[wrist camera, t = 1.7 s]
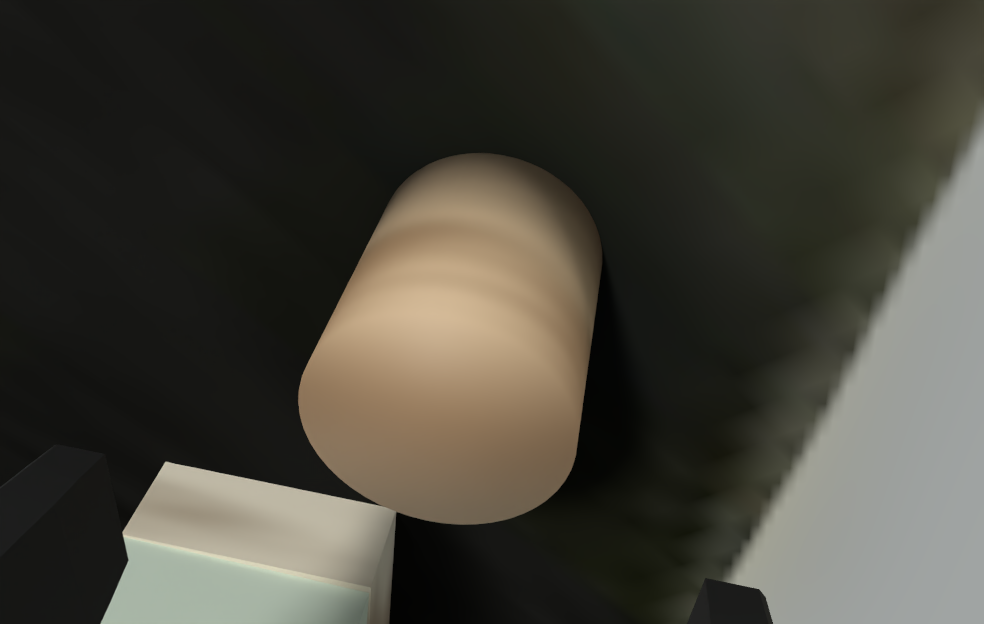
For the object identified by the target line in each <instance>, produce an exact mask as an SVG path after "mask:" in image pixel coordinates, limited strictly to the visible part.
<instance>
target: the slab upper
mask: <svg viewBox="0 0 984 624" xmlns="http://www.w3.org/2000/svg"><path fill="white" fill-rule="evenodd" d="M124 542H125V546H126V550H127V555H128V559H129V561H128V563H127V565H126V567H125V570H124V572H123V574H122V577H121V579H120V581H119V584H118V586H117V588H116V591H115V593H114V595H113V598H112V600H111V602H110V604H109V607H108V609H107V611H106V613H105V615H104V617H103V619H102V622H101V624H367V614H368V601H369V593H367V592H363V591H359V590H354V589H350V588H345V587H341V586H337V585H332V584H328V583H324V582H319V581H315V580H311V579H306V578H302V577H298V576H293V575H289V574H285V573H280V572H276V571H272V570H267V569H263V568H259V567H254V566H250V565H245V564H241V563H237V562H232V561H228V560H223V559H219V558H215V557H210V556H206V555H201V554H197V553H193V552H188V551H184V550H180V549H175V548H171V547H166V546H162V545H158V544H153V543H149V542H144V541H140V540H136V539H131V538H127V537H124Z"/></svg>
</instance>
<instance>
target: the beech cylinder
mask: <svg viewBox="0 0 984 624" xmlns="http://www.w3.org/2000/svg"><path fill="white" fill-rule="evenodd" d="M601 269H602V246H601V241H600V236H599V233H598V230H597V227H596V225H595V223H594V221H593V219H592V217H591V215H590V213H589V211H588V210H587V208H586V207H585V205H584V204H583V203H582V201H581V200H580V199H579V198H578V197H577V195H576V194H575V193H574V192H573V191H572V190H571V189H570V188H569V187H567V186H566V185H565V184H564V183H563V182H562V181H560V180H559V179H558V178H556V177H555V176H553V175H552V174H550V173H549V172H547V171H545V170H543V169H541V168H539V167H537V166H535V165H533V164H531V163H528V162H525V161H523V160H520V159H517V158H513V157H508V156H504V155H498V154H489V153H469V154H461V155H455V156H451V157H447V158H443V159H440V160H438V161H435V162H433V163H430V164H428V165H426V166H425V167H423V168H421V169H419V170H418V171H416V172H415V173H414V174H412V175H411V176H410V177H409V178H407V179H406V180H405V181H404V182H403V183H402V185H401V186H400V187H399V188H398V189H397V190H396V192H395V193H394V195H393V196H392V198H391V199H390V201H389V203H388V205H387V207H386V209H385V211H384V213H383V215H382V217H381V219H380V221H379V223H378V225H377V227H376V229H375V231H374V233H373V235H372V237H371V239H370V241H369V243H368V245H367V247H366V249H365V251H364V253H363V255H362V257H361V259H360V261H359V263H358V265H357V267H356V269H355V271H354V273H353V275H352V277H351V279H350V281H349V283H348V285H347V287H346V289H345V291H344V293H343V295H342V297H341V299H340V301H339V303H338V305H337V307H336V309H335V311H334V313H333V315H332V317H331V319H330V321H329V323H328V325H327V326H326V328H325V330H324V332H323V334H322V336H321V338H320V340H319V342H318V344H317V346H316V348H315V350H314V352H313V354H312V356H311V358H310V360H309V362H308V364H307V366H306V369H305V371H304V373H303V375H302V379H301V383H300V387H299V399H298V403H299V412H300V417H301V421H302V424H303V428H304V430H305V432H306V435H307V437H308V439H309V441H310V443H311V445H312V446H313V448H314V449H315V451H316V453H317V454H318V455H319V457H320V458H321V459H322V460H323V462H324V463H325V464H326V465H327V466H328V467H329V468H330V469H331V470H332V471H333V472H334V473H335V474H336V475H337V476H338V477H339V478H340V479H341V480H342V481H344V482H345V483H346V484H347V485H349V486H350V487H351V488H353V489H354V490H356V491H357V492H359V493H360V494H362V495H363V496H365V497H367V498H368V499H370V500H372V501H374V502H376V503H378V504H380V505H382V506H384V507H386V508H389V509H391V510H393V511H396V512H399V513H402V514H405V515H408V516H411V517H415V518H419V519H423V520H427V521H433V522H439V523H447V524H483V523H492V522H497V521H501V520H506V519H509V518H512V517H515V516H518V515H521V514H523V513H526V512H528V511H530V510H532V509H534V508H536V507H537V506H539V505H540V504H542V503H543V502H545V501H546V500H548V499H549V498H550V497H551V496H552V495H553V494H554V493H555V492H556V491H557V490H558V489H559V488H560V487H561V485H562V484H563V483H564V482H565V480H566V478H567V477H568V475H569V473H570V471H571V469H572V466H573V463H574V460H575V457H576V450H577V443H578V436H579V428H580V421H581V414H582V407H583V400H584V392H585V385H586V378H587V371H588V363H589V356H590V349H591V342H592V334H593V327H594V320H595V313H596V306H597V298H598V291H599V284H600V277H601Z"/></svg>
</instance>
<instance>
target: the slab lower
mask: <svg viewBox="0 0 984 624" xmlns="http://www.w3.org/2000/svg"><path fill="white" fill-rule="evenodd" d="M395 524H396V511H393V510H391V509H389V508H386V507H382V506H377V505H372V504H368V503H363V502H358V501H353V500H348V499H343V498H338V497H334V496H329V495H324V494H319V493H314V492H309V491H304V490H300V489H295V488H290V487H285V486H280V485H275V484H270V483H266V482H261V481H256V480H251V479H246V478H241V477H236V476H232V475H227V474H222V473H217V472H212V471H207V470H202V469H198V468H193V467H188V466H183V465H178V464H173V463H169V462H165V464H164V465H163V467H162V469H161V470H160V472H159V474H158V475H157V477H156V478H155V480H154V482H153V483H152V485H151V487H150V488H149V490H148V492H147V493H146V495H145V496H144V498H143V500H142V501H141V503H140V505H139V506H138V508H137V510H136V511H135V513H134V514H133V516H132V518H131V519H130V521H129V523H128V524H127V526H126V528H125V529H124V531H123V532H122V533H123V537H127V538H131V539H136V540H140V541H144V542H149V543H153V544H158V545H162V546H166V547H171V548H175V549H180V550H184V551H188V552H193V553H197V554H201V555H206V556H210V557H215V558H219V559H223V560H228V561H232V562H237V563H241V564H245V565H250V566H254V567H259V568H263V569H267V570H272V571H276V572H280V573H285V574H289V575H293V576H298V577H302V578H306V579H311V580H315V581H319V582H324V583H328V584H332V585H337V586H341V587H345V588H350V589H354V590H359V591H363V592H367V593H369V601H368V614H367V624H389V616H390V601H391V585H392V570H393V554H394V539H395Z"/></svg>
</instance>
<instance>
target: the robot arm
mask: <svg viewBox="0 0 984 624" xmlns="http://www.w3.org/2000/svg"><path fill="white" fill-rule="evenodd" d="M128 561H129V559H128V555H127V550H126V546H125V542H124V537H123V533H122V528H121V524H120V519H119V515H118V510H117V506H116V501H115V497H114V492H113V488H112V483H111V479H110V474H109V470H108V466H107V461H106V457H105V454H101V453H96V452H92V451H87V450H82V449H77V448H72V447H67V446H63V445H58V444H57V445H55V446H54V447H52V448H51V449H49V450H48V451H47V452H45V453H44V454H43V455H41V456H40V457H39V458H37V459H36V460H35V461H33V462H32V463H31V464H30V465H28V466H27V467H26V468H24V469H23V470H22V471H20V472H19V473H18V474H17V475H15V476H14V477H13V478H11V479H10V480H9V481H8V482H6V483H5V484H4V485H2V486H1V487H0V624H101V622H102V619H103V617H104V615H105V613H106V611H107V609H108V607H109V604H110V602H111V600H112V598H113V595H114V593H115V591H116V588H117V586H118V584H119V581H120V579H121V577H122V574H123V572H124V570H125V567H126V565H127V563H128ZM687 624H773V622H772V619H771V615H770V612H769V608H768V605H767V601H766V598H765V596H764V595H763V594H762V592H761V591H760V590H759V589H755V588H750V587H745V586H740V585H736V584H731V583H726V582H721V581H716V580H712V579H707V578H705V580H704V583H703V585H702V588H701V590H700V593H699V595H698V598H697V600H696V603H695V605H694V608H693V610H692V613H691V615H690V618H689V620H688V623H687Z"/></svg>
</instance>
